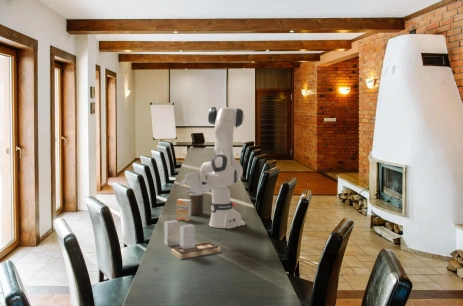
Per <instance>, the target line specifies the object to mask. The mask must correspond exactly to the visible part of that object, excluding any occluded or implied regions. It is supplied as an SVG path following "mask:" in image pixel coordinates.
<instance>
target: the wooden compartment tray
mask: <svg viewBox="0 0 463 306" xmlns="http://www.w3.org/2000/svg"><path fill="white" fill-rule="evenodd" d="M170 252H171V255H173V256H174V257H176V258H178V259H179V260H182V259H188V258H193V257H200V256H206V255H210V254H211V255H212V254H216V253H221V247H219V246H218V245H217V244H215V243H213V242H211V241H205V242H200V243H195V250H189V251H181V250H180V246H174V247H173V248H171V249H170Z"/></svg>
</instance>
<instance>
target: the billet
mask: <svg viewBox="0 0 463 306" xmlns="http://www.w3.org/2000/svg"><path fill="white" fill-rule="evenodd" d="M195 238H196V225H194V224H192V223H189V224H183V225H179V247H180V250H181V251H189V250H195V244H196V239H195Z"/></svg>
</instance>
